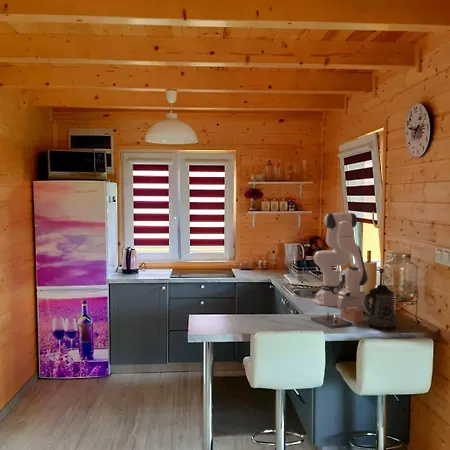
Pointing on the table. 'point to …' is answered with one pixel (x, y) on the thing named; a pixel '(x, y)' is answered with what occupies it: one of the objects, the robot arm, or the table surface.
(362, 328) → the table surface
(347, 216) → the robot arm
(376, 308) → the beer stein
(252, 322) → the table surface
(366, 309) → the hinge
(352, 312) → the block
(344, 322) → the base plate
